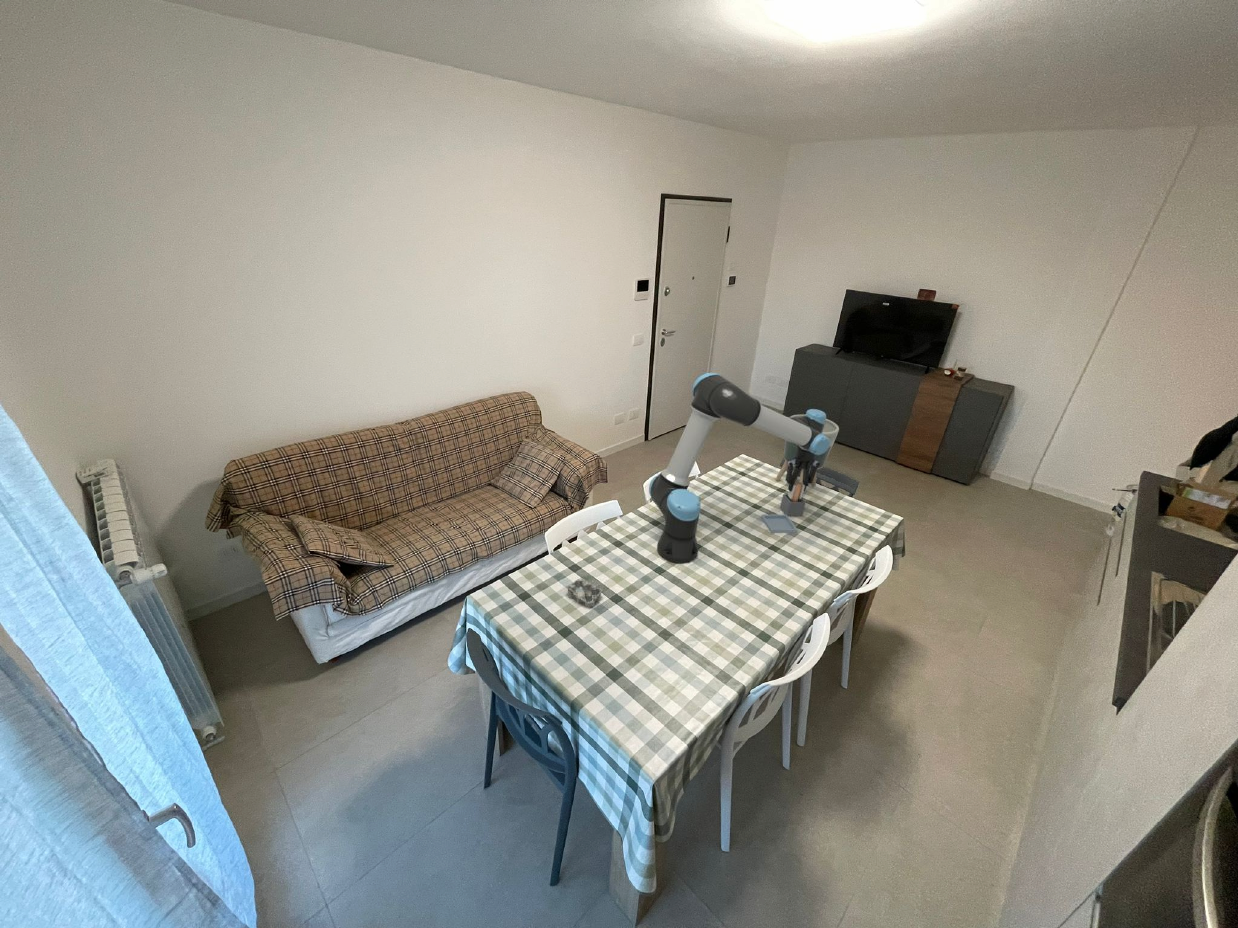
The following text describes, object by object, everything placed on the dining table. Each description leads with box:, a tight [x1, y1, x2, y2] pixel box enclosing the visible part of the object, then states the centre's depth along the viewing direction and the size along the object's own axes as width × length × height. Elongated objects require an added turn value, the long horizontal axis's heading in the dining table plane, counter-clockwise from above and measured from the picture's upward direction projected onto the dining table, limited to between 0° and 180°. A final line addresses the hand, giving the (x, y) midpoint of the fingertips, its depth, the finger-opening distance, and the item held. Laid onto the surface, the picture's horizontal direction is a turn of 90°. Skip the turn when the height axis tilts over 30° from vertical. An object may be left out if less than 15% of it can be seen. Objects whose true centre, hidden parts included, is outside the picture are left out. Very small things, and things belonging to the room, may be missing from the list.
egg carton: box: [565, 578, 604, 608], centre depth 159 cm, size 11×8×4 cm
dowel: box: [790, 481, 802, 502], centre depth 209 cm, size 3×3×14 cm
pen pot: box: [779, 493, 806, 518], centre depth 211 cm, size 7×7×8 cm
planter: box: [774, 414, 840, 487], centre depth 226 cm, size 22×22×33 cm
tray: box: [760, 514, 799, 534], centre depth 203 cm, size 11×11×2 cm
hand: (794, 497), depth 209 cm, fingers open, 3 cm apart
